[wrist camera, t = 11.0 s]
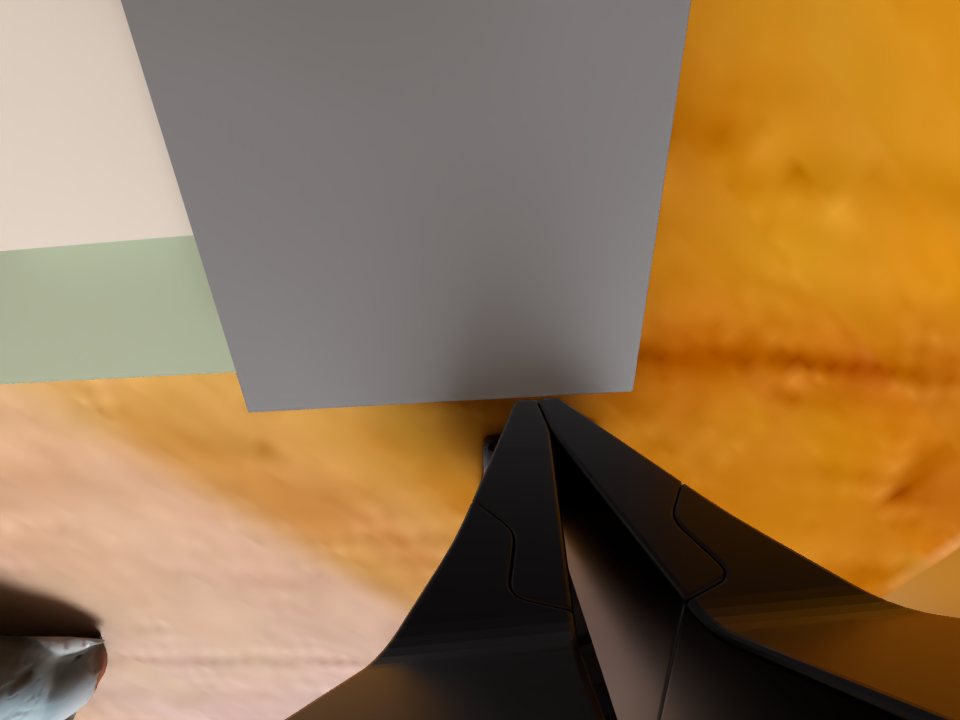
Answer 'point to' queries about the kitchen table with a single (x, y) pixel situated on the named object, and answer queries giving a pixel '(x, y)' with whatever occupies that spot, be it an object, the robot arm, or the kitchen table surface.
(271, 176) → the gray rectangular block
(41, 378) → the rubber mat
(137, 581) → the kitchen table surface
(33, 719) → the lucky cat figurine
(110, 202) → the ceramic tile
